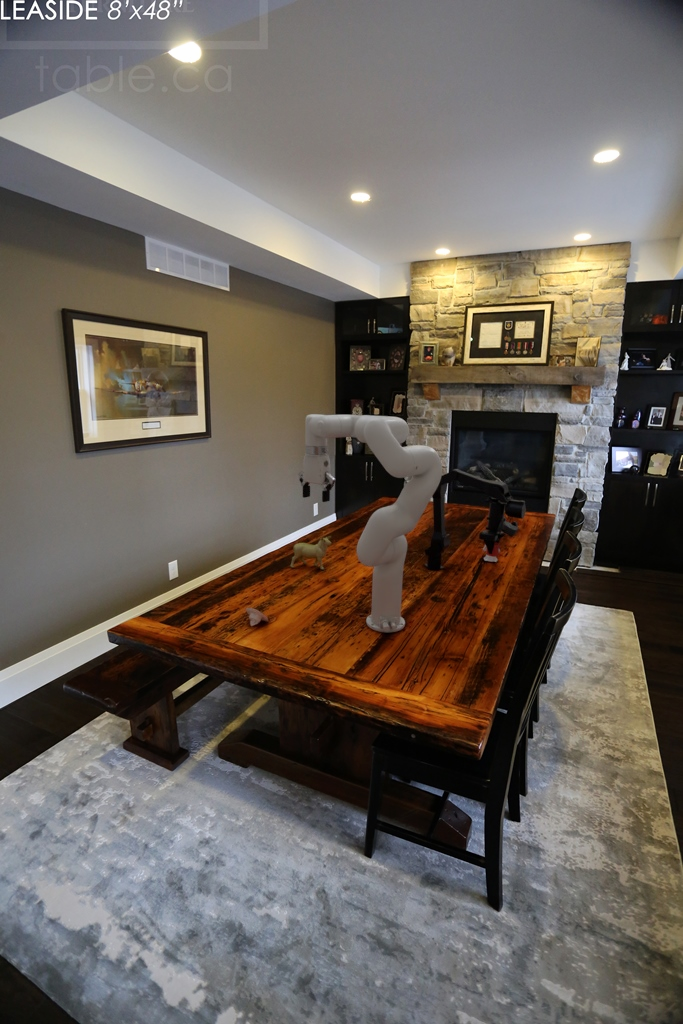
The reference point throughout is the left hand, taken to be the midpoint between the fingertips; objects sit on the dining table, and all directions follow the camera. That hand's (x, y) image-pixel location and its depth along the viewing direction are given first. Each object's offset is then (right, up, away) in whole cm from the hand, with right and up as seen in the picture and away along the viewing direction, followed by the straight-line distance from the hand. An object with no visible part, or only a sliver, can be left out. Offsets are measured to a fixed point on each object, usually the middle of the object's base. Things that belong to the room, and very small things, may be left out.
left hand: (316, 499), depth 176 cm
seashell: (-18, -41, -15) cm, 47 cm away
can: (+69, -22, +23) cm, 76 cm away
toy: (-4, -28, +35) cm, 45 cm away
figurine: (+76, -26, +49) cm, 94 cm away
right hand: (+69, -21, +23) cm, 76 cm away
